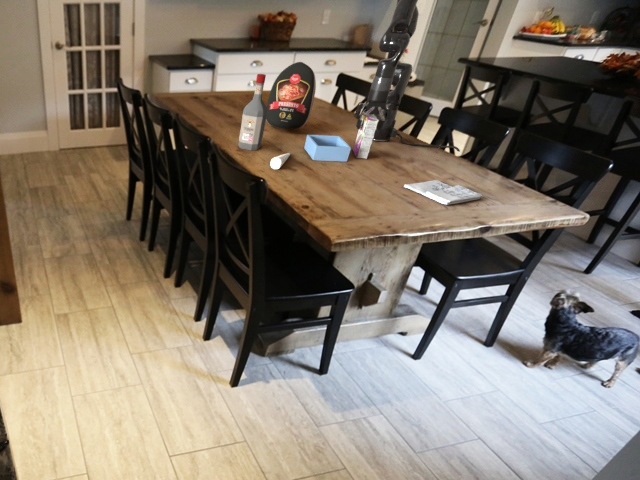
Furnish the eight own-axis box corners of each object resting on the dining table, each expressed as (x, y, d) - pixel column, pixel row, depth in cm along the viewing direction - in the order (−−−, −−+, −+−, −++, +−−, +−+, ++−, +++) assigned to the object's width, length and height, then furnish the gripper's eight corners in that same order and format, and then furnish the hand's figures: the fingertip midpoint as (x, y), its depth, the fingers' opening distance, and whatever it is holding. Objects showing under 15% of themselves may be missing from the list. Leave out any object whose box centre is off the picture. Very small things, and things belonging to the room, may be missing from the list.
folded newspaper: (446, 206, 177) (448, 201, 176) (401, 187, 191) (403, 181, 190) (482, 199, 183) (485, 194, 182) (436, 181, 198) (438, 175, 196)
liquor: (255, 151, 223) (268, 77, 205) (236, 147, 227) (247, 75, 208) (262, 146, 229) (275, 74, 211) (243, 143, 233) (255, 71, 215)
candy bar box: (351, 150, 227) (363, 112, 217) (363, 151, 227) (375, 113, 216) (355, 158, 219) (367, 119, 209) (367, 159, 218) (379, 119, 208)
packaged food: (260, 130, 251) (272, 63, 232) (266, 121, 265) (278, 58, 247) (304, 136, 245) (320, 68, 226) (308, 126, 259) (323, 61, 241)
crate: (335, 149, 229) (339, 135, 225) (346, 161, 215) (351, 147, 211) (304, 148, 229) (307, 134, 225) (313, 160, 215) (316, 146, 212)
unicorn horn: (297, 156, 219) (300, 145, 216) (279, 171, 203) (282, 159, 200) (287, 154, 221) (289, 143, 218) (268, 168, 205) (271, 157, 202)
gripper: (394, 86, 208) (381, 127, 218) (360, 85, 209) (349, 126, 219) (401, 90, 202) (387, 132, 213) (366, 89, 203) (354, 131, 213)
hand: (368, 129), depth 216 cm, fingers open, 8 cm apart
